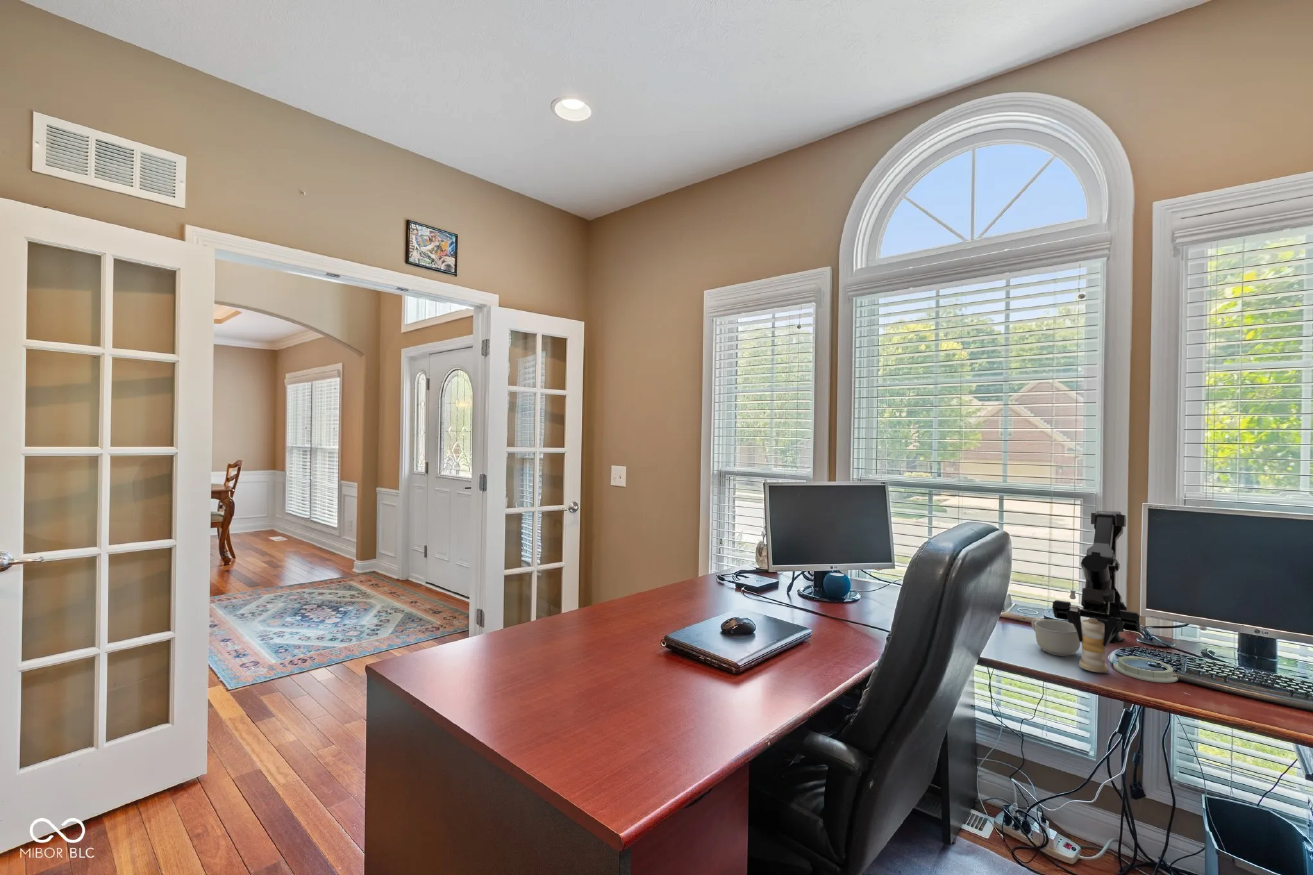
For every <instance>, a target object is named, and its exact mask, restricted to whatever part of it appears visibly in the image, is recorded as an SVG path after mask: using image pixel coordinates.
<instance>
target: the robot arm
mask: <svg viewBox="0 0 1313 875" xmlns="http://www.w3.org/2000/svg"><path fill="white" fill-rule="evenodd" d="M1090 524H1091V525H1093V528H1094V537H1093V545H1091V546H1090V547H1088V548H1087V549H1086V553H1085V555H1084V556H1083V557H1082V559H1081V562H1080V567H1081V569H1082V571H1083V577H1084V578H1085V583H1084V584H1085V586H1084V587H1082V589H1081V590H1082V591H1081V600H1080V601H1081V602H1080V604H1081V607H1082V608H1081V607H1078V606H1074V605H1072V603H1071V601H1065V600H1059V599H1055V600H1054V601H1053V602H1052V606H1051V607H1052V612H1053V616H1054V618H1055V619H1056V620H1062V621H1067V622H1069V623H1072V624H1073V625H1074V627H1075V629H1076V631H1077V634H1078V637H1079V641H1080V643H1082V619H1081V617H1083V618H1088V619H1089V618H1093V619H1097V620H1098V621H1099V622H1102V623H1104V626H1105V637H1104V647H1105V648H1106V647H1107V646H1108V645H1109V643H1118V642H1122V641H1126V637H1122V636H1120V633H1124V632H1125V631H1127V632H1128V631H1129V632H1134V633H1140V632H1141V626H1142V625H1141V615H1140V614H1139V613H1138V612H1137V611H1133V610H1132V611H1130V610H1128V608H1127V606H1126V604H1125V601H1123V598H1122V595H1121V594H1120V592H1119V590H1118V589H1117V588H1116V587H1117V586H1116V583H1117V582H1116V581H1117V580H1116V579H1117V573H1118V571H1119V570H1120V569H1121V565H1120V564H1121V563H1119V560H1118V559H1117V545H1118V544H1117V542H1118V539H1119V538H1120V537H1121V536H1122V535H1123V533H1124V527H1125V528H1126V526H1127V516H1126V515H1125V514H1122V511H1118V510H1117V511H1116V510H1115V511H1114V510H1101V509H1100V510H1099V509H1097V510H1096V512H1091V513H1090Z"/></svg>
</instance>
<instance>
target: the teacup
mask: <svg viewBox="0 0 1313 875" xmlns="http://www.w3.org/2000/svg"><path fill="white" fill-rule="evenodd" d="M1031 627H1032V629H1033V631H1034V632H1035V639H1036V642H1037V645H1038V646H1039V647H1040V648H1041V649H1042V650H1043V651H1044V652H1046V653H1048V654H1050V655H1053V656H1058V657H1069V656H1072V655H1073V654H1075V653H1077V652H1078V651H1079V650H1080V646H1081V642H1080V641H1079V637H1078V634H1077V631H1076V629H1075V627H1074V625H1073V624H1072V623H1069V622H1068V621H1067V620H1062V619H1041V618H1037V617H1036V618H1033V619H1032V620H1031Z"/></svg>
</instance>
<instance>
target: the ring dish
mask: <svg viewBox="0 0 1313 875" xmlns="http://www.w3.org/2000/svg"><path fill="white" fill-rule="evenodd" d="M1128 660H1144V661H1153V662H1156V663H1160V664H1161V665H1163V666H1164V667H1165V668H1166V669H1167V670H1165V671H1151V670H1145V669H1140V668H1137V667H1133V666H1130V665H1128V664H1126V663H1125V661H1128ZM1117 661H1118V664H1116V663H1115V661H1114V662H1113V669H1114V670H1115V671H1117V673H1120V674H1122V675H1125V676H1126V677H1130V678H1133V679H1135V680H1136V679H1137V680H1140V681H1146V682H1152V683H1157V684H1158V683H1161V684H1167V683H1168V684H1170V683H1171V684H1172V683H1175V682H1177V681H1179V677H1178V678H1177V677H1173V671H1174V669H1173V666H1171V665H1169V664H1168V663H1164V662H1163V661H1159V660H1155V659H1152V658H1147V657H1141V656H1132V655H1129V656H1128V655H1124V656H1119V657H1117Z"/></svg>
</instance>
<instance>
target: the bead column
mask: <svg viewBox="0 0 1313 875" xmlns="http://www.w3.org/2000/svg"><path fill="white" fill-rule="evenodd" d="M1081 623H1082V642H1081V659H1079V667H1080V668H1081V669H1083V670H1085V671H1086V670H1087V671H1089V672H1094V673H1107V672H1108V671H1109V668H1108V666H1109V665H1108V664H1107V663H1106V653H1105V652H1106V651H1105V650H1106V647H1104V637H1105V626H1104V623H1102V622H1099V621H1098V620H1097V619H1094V618H1088V619H1081Z"/></svg>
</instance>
